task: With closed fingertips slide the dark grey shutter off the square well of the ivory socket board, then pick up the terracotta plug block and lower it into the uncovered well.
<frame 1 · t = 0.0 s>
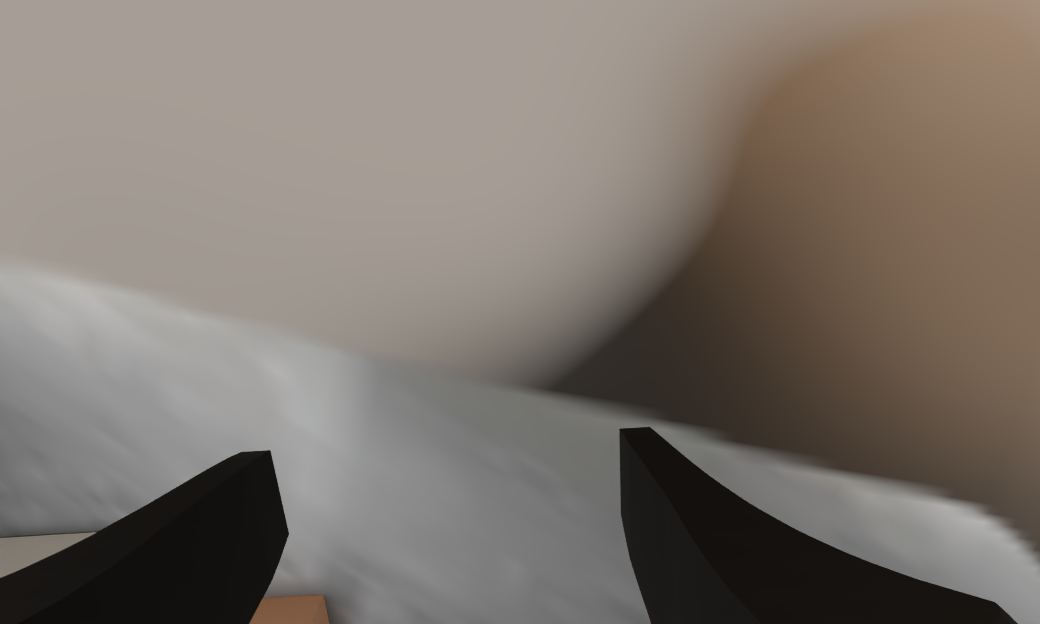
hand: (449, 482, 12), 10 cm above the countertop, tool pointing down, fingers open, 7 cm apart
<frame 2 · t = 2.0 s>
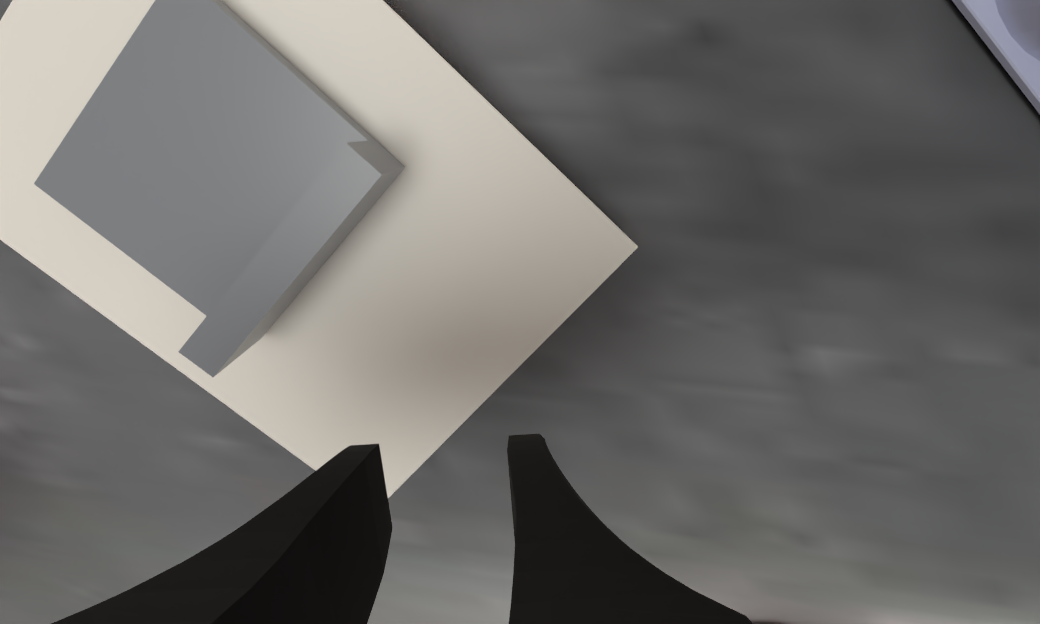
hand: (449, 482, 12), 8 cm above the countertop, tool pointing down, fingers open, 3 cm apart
shutter: (203, 178, 14), point 4 cm above the countertop, slide at 0.0 cm
socket board: (311, 200, 19), on the countertop
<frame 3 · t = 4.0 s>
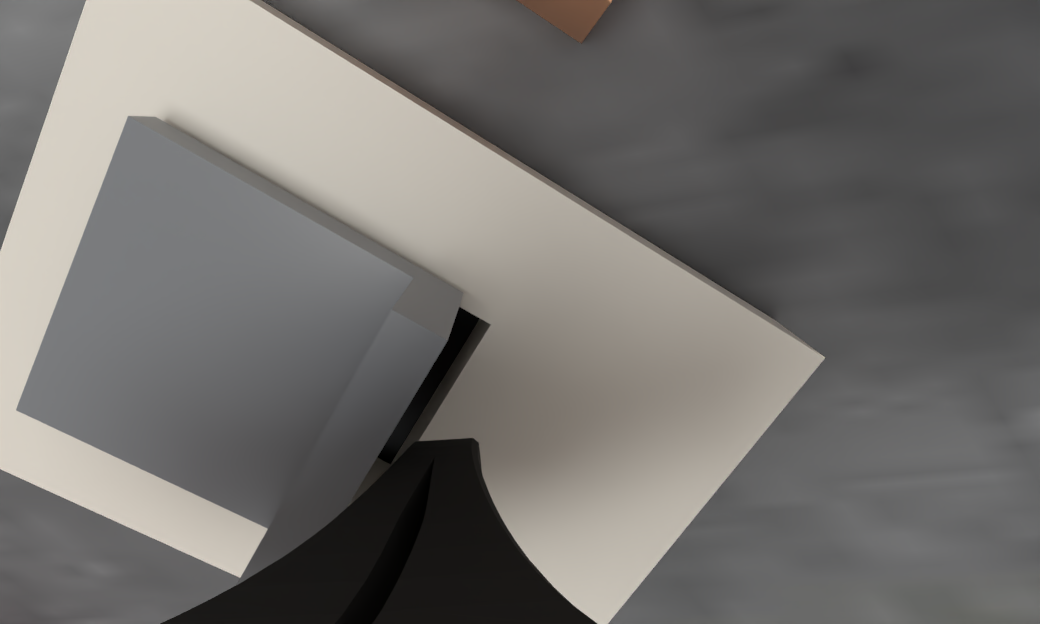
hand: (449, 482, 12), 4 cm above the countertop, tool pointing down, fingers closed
shutter: (216, 370, 11), point 4 cm above the countertop, slide at 1.3 cm, touching gripper
socket board: (393, 357, 15), on the countertop
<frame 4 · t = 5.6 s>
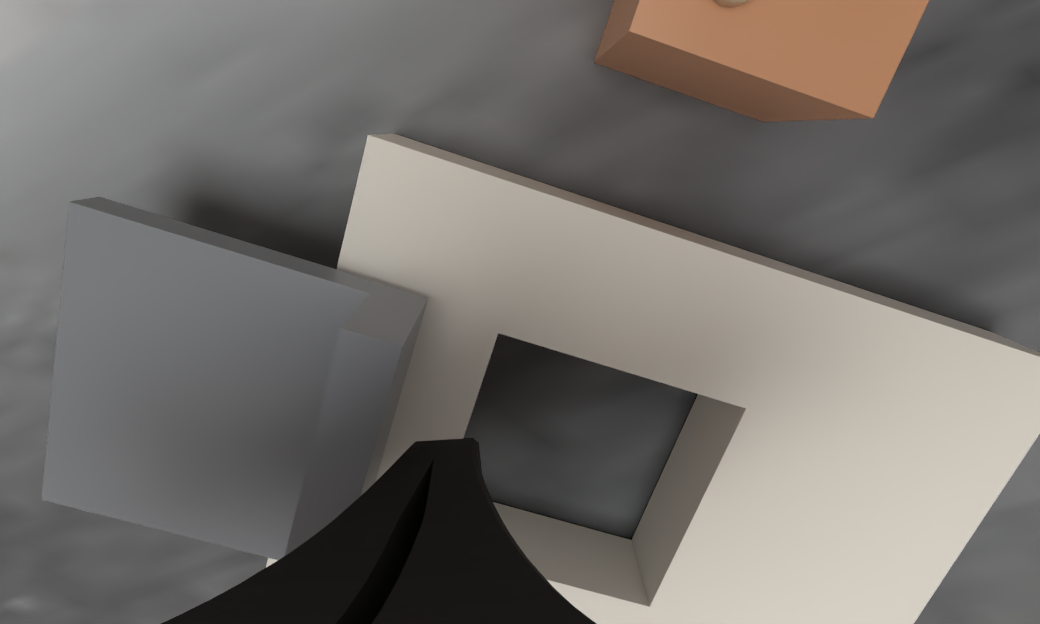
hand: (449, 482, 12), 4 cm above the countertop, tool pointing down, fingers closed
shutter: (206, 423, 11), point 4 cm above the countertop, slide at 7.8 cm, touching gripper
socket board: (622, 443, 16), on the countertop
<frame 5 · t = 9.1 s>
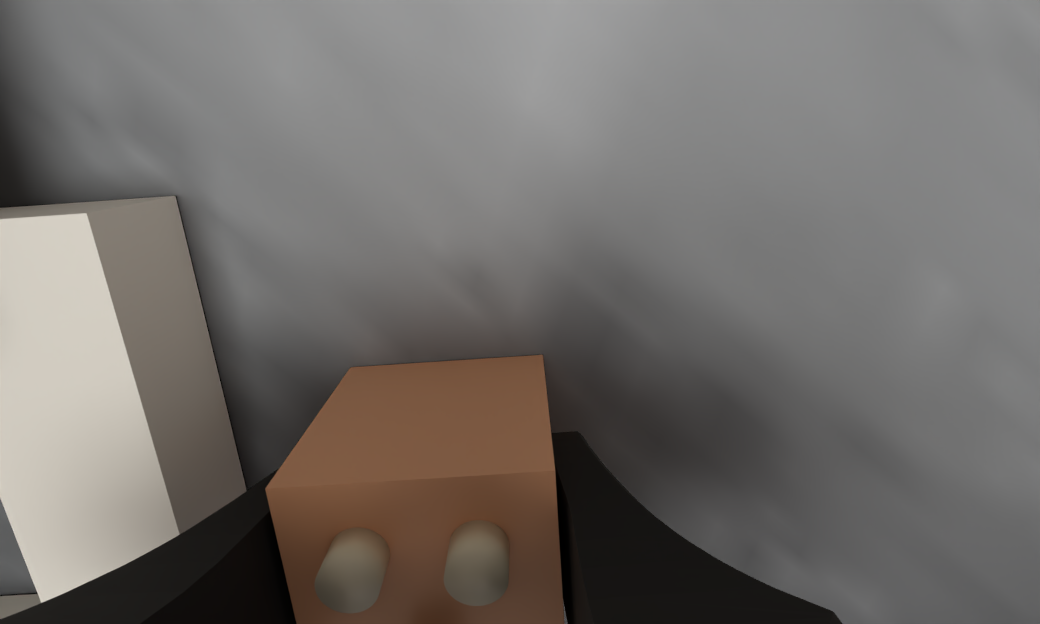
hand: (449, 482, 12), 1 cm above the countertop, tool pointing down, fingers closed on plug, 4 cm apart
plug: (456, 446, 13), on the countertop, touching gripper
socket board: (11, 547, 14), on the countertop
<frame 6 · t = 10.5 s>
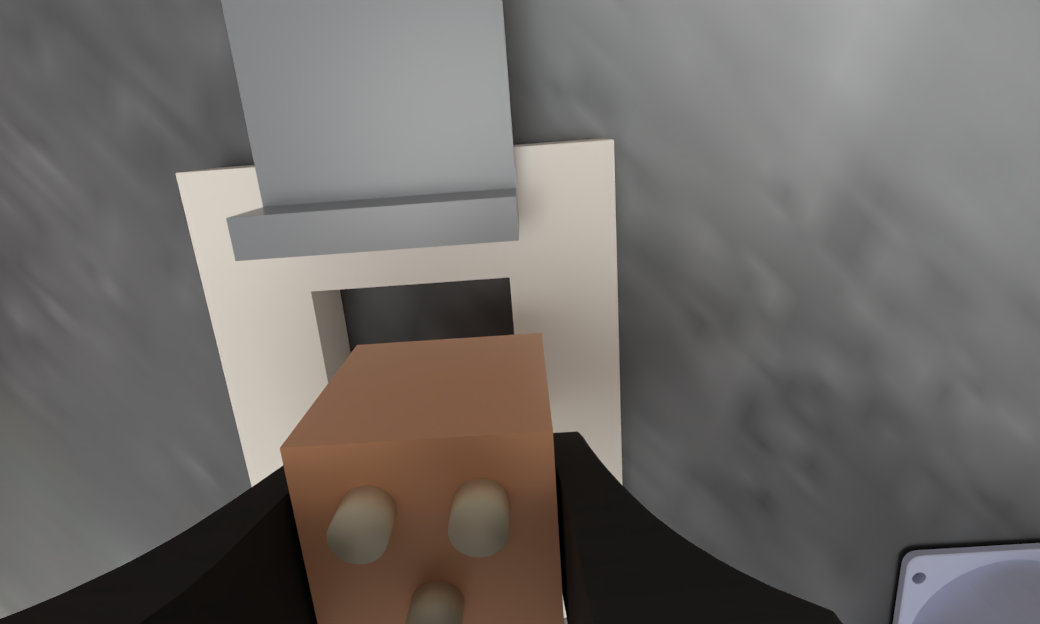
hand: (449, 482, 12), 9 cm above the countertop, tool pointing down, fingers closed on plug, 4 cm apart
plug: (458, 422, 14), point 6 cm above the countertop, touching gripper
shutter: (369, 102, 14), point 4 cm above the countertop, slide at 7.8 cm
socket board: (438, 386, 21), on the countertop
when the fingers open (3 cm above the countertop, at t = 12.3 s): plug drops 1 cm, resting in socket board.
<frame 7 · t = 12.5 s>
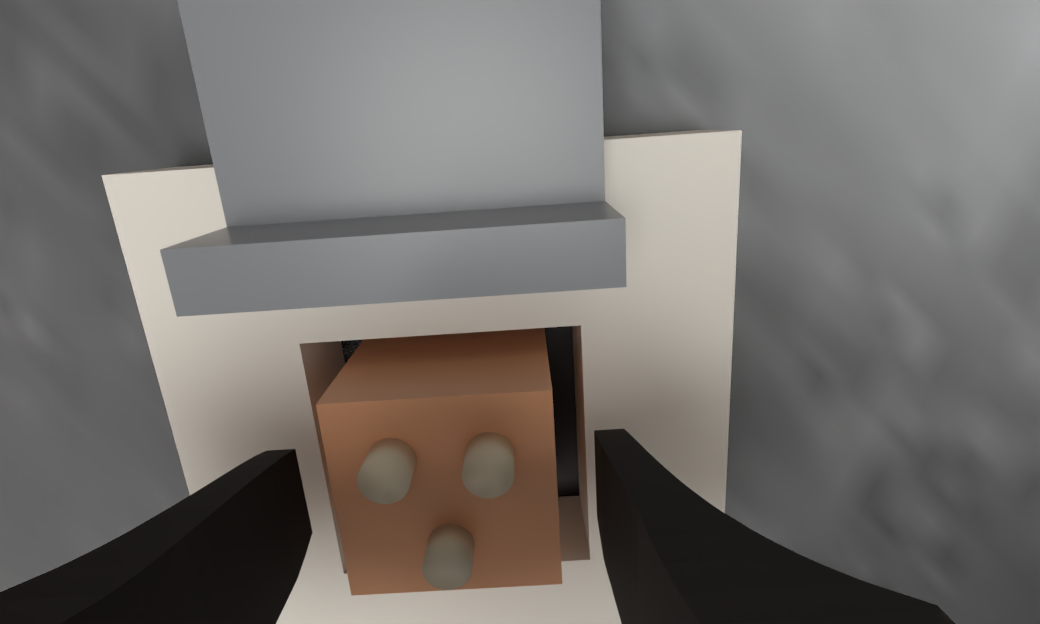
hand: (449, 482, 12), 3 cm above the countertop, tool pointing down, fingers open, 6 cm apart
plug: (466, 394, 15), resting in socket board
shutter: (389, 67, 9), point 4 cm above the countertop, slide at 7.8 cm
socket board: (469, 457, 16), on the countertop
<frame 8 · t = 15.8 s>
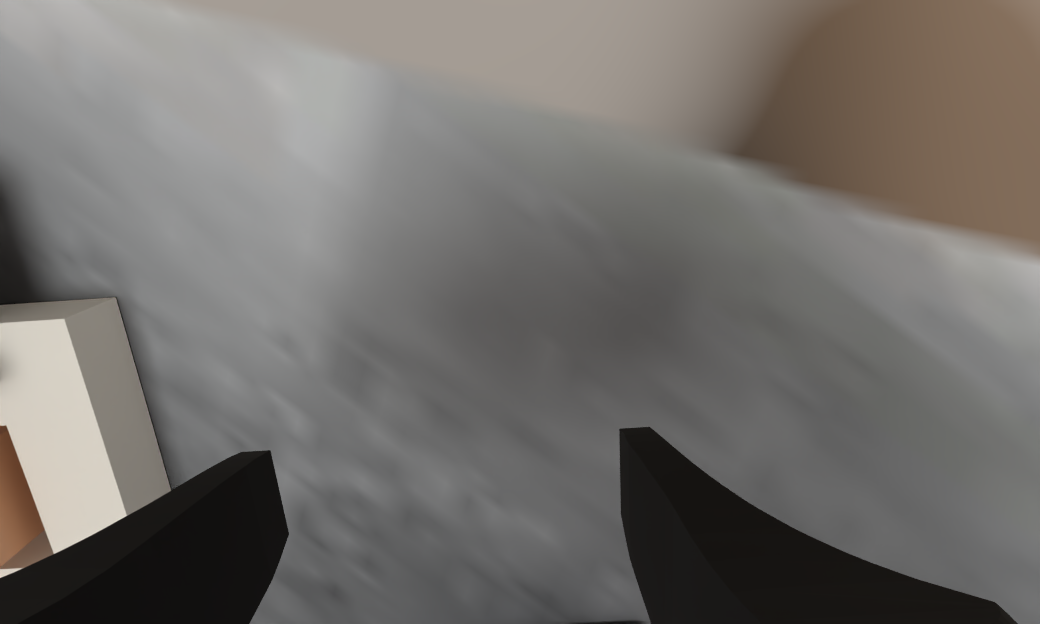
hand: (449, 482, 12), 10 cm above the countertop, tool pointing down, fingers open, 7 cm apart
plug: (13, 456, 23), resting in socket board
socket board: (23, 497, 24), on the countertop
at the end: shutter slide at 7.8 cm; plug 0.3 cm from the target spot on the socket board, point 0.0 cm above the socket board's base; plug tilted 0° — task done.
